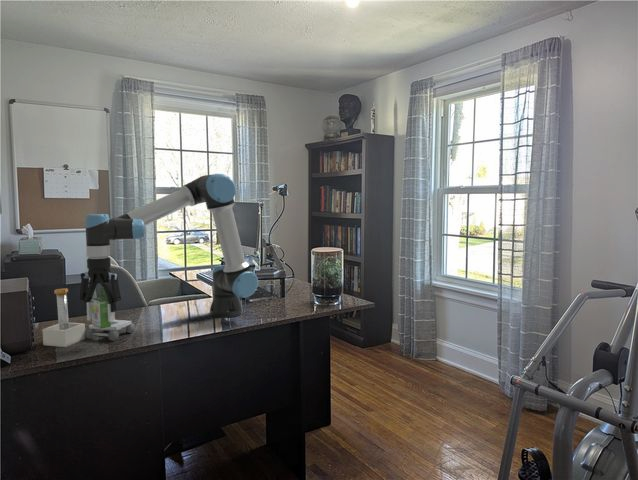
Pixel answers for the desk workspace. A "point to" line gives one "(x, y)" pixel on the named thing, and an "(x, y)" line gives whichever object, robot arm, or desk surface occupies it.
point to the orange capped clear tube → (62, 308)
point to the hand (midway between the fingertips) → (101, 320)
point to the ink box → (100, 311)
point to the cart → (111, 329)
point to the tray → (63, 335)
